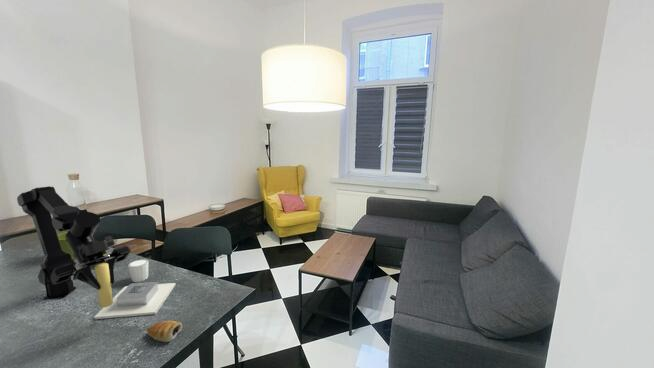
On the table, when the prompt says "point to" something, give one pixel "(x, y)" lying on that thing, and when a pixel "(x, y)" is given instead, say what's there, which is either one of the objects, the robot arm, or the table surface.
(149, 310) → the base plate
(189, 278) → the table surface
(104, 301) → the pin
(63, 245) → the plant pot
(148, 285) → the metal collar
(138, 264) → the white short cylinder
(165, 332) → the pastry
